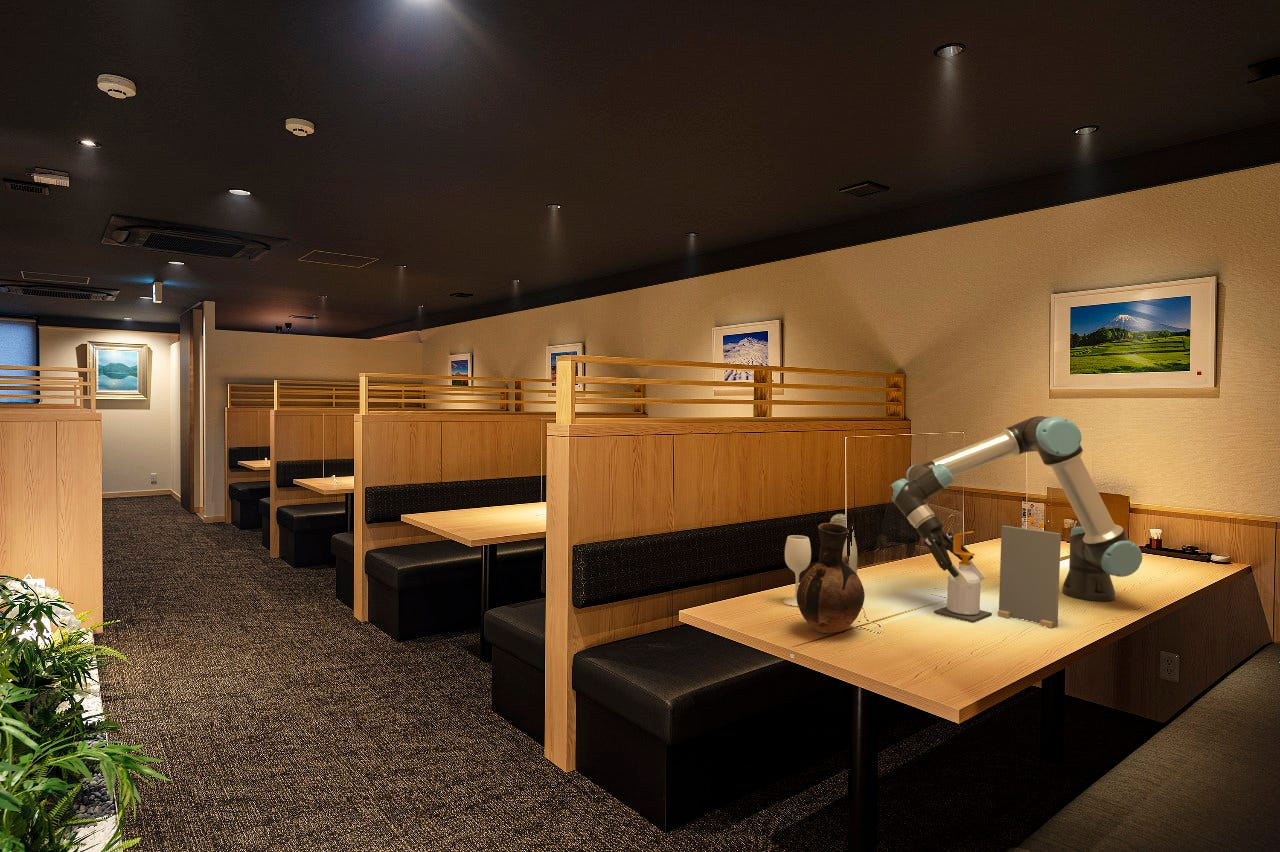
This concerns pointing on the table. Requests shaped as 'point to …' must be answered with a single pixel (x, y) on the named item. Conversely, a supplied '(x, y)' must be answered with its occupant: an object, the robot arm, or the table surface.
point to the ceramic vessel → (831, 585)
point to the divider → (1029, 575)
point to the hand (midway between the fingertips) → (974, 582)
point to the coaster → (968, 618)
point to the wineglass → (797, 559)
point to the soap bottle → (969, 595)
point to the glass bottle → (841, 520)
